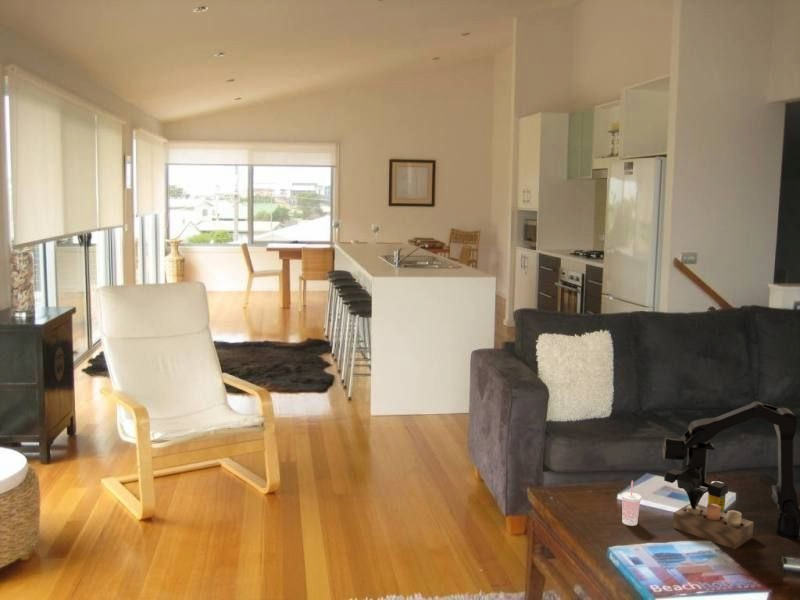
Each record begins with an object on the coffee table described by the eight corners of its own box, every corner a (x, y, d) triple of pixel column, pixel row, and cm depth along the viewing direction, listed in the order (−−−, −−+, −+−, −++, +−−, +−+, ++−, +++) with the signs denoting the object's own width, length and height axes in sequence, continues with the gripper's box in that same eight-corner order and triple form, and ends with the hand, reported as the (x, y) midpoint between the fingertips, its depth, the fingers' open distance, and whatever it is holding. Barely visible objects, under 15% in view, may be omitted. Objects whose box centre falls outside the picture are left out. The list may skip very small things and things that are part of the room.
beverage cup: (640, 527, 254) (643, 485, 251) (620, 525, 255) (623, 483, 253) (638, 519, 260) (641, 478, 257) (619, 517, 261) (621, 476, 259)
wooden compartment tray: (752, 537, 248) (753, 522, 247) (734, 549, 240) (736, 533, 239) (691, 516, 262) (692, 502, 261) (672, 527, 254) (673, 512, 253)
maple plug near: (742, 528, 245) (743, 513, 245) (736, 532, 243) (738, 516, 242) (729, 524, 248) (731, 509, 248) (723, 528, 246) (725, 512, 245)
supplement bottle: (711, 506, 271) (713, 478, 270) (727, 511, 267) (729, 483, 266) (704, 510, 267) (706, 483, 266) (719, 515, 264) (722, 487, 262)
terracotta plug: (722, 522, 250) (723, 506, 249) (716, 525, 247) (717, 510, 247) (709, 517, 253) (710, 502, 252) (703, 521, 250) (704, 506, 250)
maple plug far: (701, 523, 255) (702, 508, 255) (695, 527, 253) (696, 511, 252) (689, 519, 258) (690, 504, 257) (683, 522, 255) (684, 508, 255)
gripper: (656, 459, 254) (653, 506, 256) (713, 475, 240) (709, 525, 242) (674, 451, 261) (671, 497, 263) (730, 467, 248) (726, 515, 250)
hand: (693, 508), depth 255 cm, fingers closed, pressing on maple plug far
